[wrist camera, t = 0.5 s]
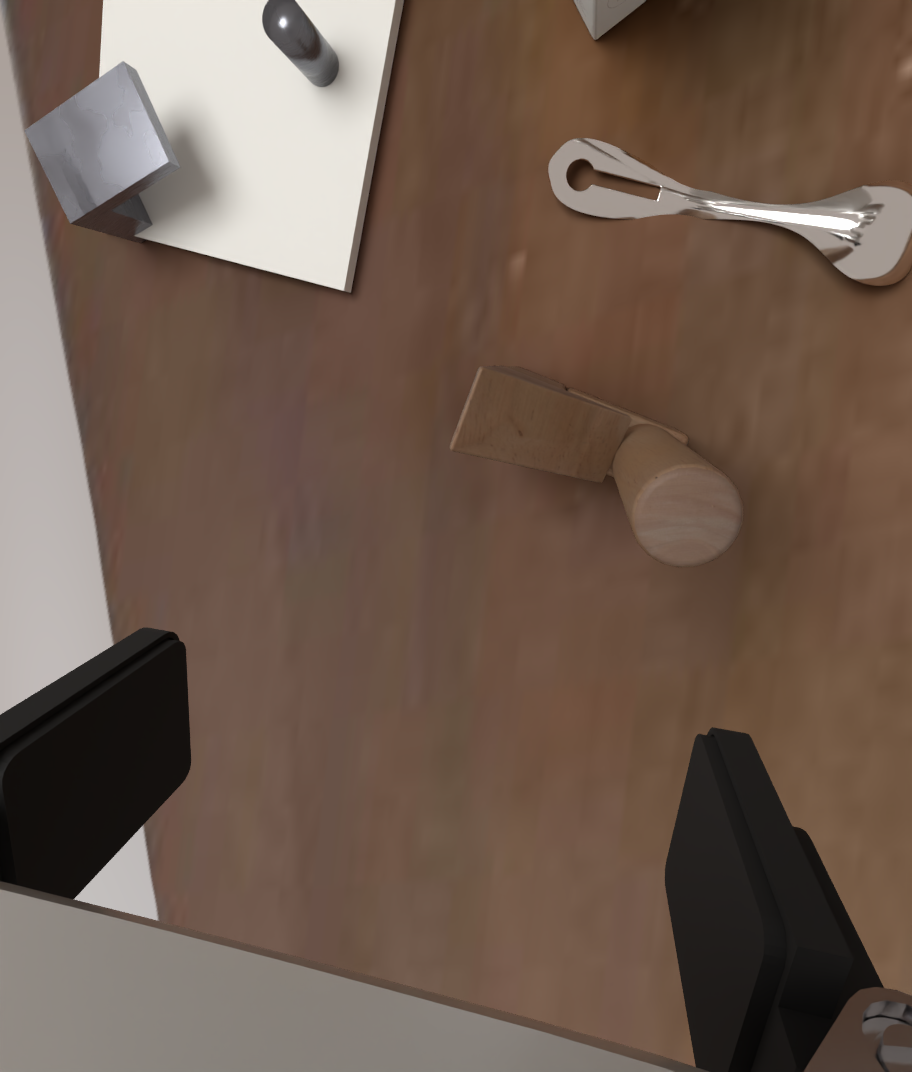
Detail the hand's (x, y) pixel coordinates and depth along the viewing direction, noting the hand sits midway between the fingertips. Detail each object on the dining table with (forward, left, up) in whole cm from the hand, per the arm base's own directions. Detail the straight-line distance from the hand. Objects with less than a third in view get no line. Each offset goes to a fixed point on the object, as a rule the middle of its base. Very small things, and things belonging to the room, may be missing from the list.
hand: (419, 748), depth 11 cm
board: (-17, -22, -29) cm, 40 cm away
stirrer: (-17, +6, -30) cm, 35 cm away
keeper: (-11, -27, -29) cm, 41 cm away
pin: (-19, -17, -29) cm, 39 cm away
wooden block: (-4, +2, -30) cm, 30 cm away
